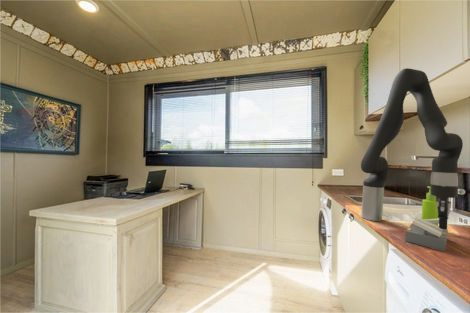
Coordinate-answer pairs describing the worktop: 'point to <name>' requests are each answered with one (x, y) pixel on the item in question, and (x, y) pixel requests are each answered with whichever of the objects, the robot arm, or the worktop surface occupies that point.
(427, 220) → the block
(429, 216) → the soap dispenser
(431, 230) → the block
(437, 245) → the switch box
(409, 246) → the worktop surface
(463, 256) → the worktop surface
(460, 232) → the worktop surface
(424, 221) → the block
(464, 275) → the worktop surface
